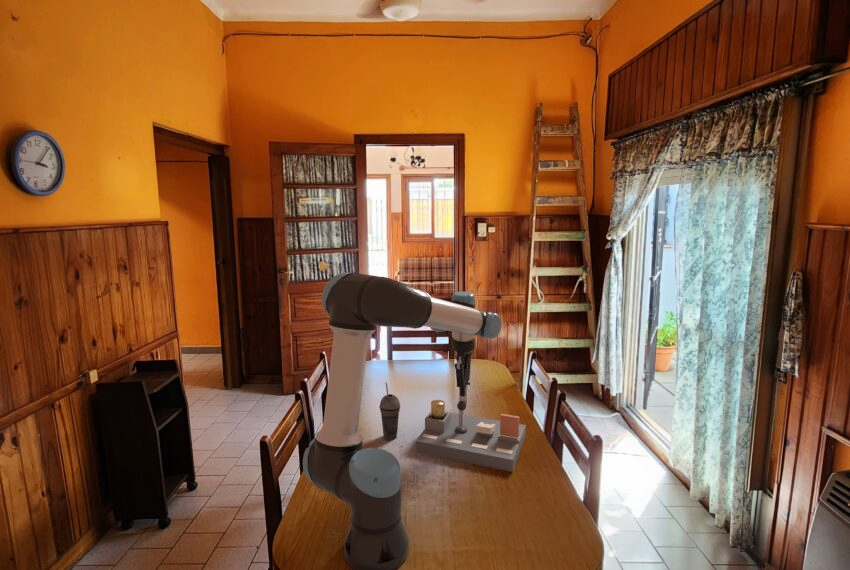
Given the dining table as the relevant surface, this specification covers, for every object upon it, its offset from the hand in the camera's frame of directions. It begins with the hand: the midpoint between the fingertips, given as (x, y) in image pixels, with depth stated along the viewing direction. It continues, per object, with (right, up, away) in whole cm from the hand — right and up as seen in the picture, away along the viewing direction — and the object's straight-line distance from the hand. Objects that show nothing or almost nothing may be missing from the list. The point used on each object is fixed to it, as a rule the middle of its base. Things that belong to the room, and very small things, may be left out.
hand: (463, 403), depth 160 cm
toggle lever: (-1, -8, -1) cm, 8 cm away
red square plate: (+15, -9, -7) cm, 18 cm away
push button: (-9, -6, +2) cm, 11 cm away
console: (+3, -13, -1) cm, 14 cm away
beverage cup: (-25, -13, +3) cm, 29 cm away
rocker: (+7, -8, -4) cm, 11 cm away
